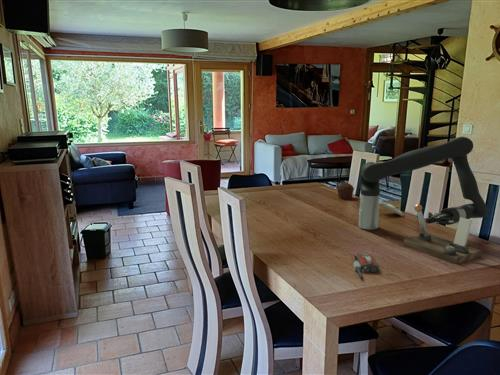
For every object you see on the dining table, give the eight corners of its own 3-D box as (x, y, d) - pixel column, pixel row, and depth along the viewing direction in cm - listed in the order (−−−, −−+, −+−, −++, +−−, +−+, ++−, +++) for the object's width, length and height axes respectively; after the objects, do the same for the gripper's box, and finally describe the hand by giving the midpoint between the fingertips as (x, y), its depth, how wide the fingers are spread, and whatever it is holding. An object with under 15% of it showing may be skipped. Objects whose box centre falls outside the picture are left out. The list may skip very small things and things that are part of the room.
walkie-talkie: (349, 260, 160) (358, 281, 140) (349, 249, 159) (358, 269, 139) (371, 260, 159) (383, 281, 140) (372, 250, 158) (384, 270, 139)
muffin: (355, 199, 261) (356, 185, 259) (338, 199, 261) (339, 185, 259) (351, 195, 273) (351, 181, 271) (335, 196, 273) (335, 181, 271)
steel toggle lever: (424, 233, 176) (416, 202, 170) (430, 235, 173) (423, 203, 167) (420, 237, 175) (411, 206, 169) (426, 239, 172) (418, 207, 166)
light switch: (404, 213, 219) (381, 201, 220) (398, 222, 221) (375, 209, 222) (401, 210, 227) (379, 197, 228) (396, 218, 229) (373, 206, 230)
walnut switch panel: (427, 239, 182) (428, 228, 181) (480, 256, 161) (481, 244, 160) (403, 245, 175) (404, 234, 174) (455, 264, 153) (456, 251, 152)
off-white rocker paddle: (454, 245, 162) (461, 217, 161) (464, 249, 158) (472, 220, 157) (452, 245, 162) (460, 217, 161) (462, 248, 158) (470, 219, 157)
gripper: (440, 204, 186) (415, 209, 178) (467, 210, 174) (441, 216, 166) (439, 219, 187) (414, 225, 179) (465, 227, 176) (439, 233, 168)
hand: (427, 221), depth 173 cm, fingers closed
